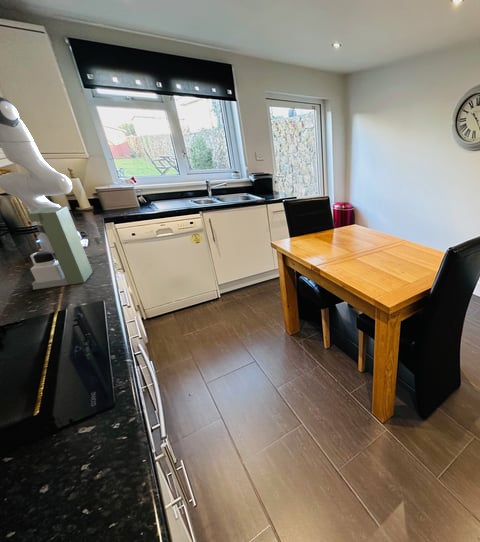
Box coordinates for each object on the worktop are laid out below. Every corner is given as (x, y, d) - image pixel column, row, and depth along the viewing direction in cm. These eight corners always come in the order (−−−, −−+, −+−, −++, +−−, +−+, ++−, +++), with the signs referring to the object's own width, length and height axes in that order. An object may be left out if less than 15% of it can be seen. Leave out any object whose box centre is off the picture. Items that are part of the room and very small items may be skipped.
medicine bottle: (67, 275, 119) (55, 248, 114) (62, 281, 114) (50, 253, 109) (43, 278, 116) (30, 251, 111) (37, 285, 110) (23, 257, 105)
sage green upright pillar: (45, 278, 118) (13, 209, 106) (92, 271, 125) (67, 206, 113) (32, 289, 108) (-5, 215, 97) (84, 282, 115) (55, 212, 104)
